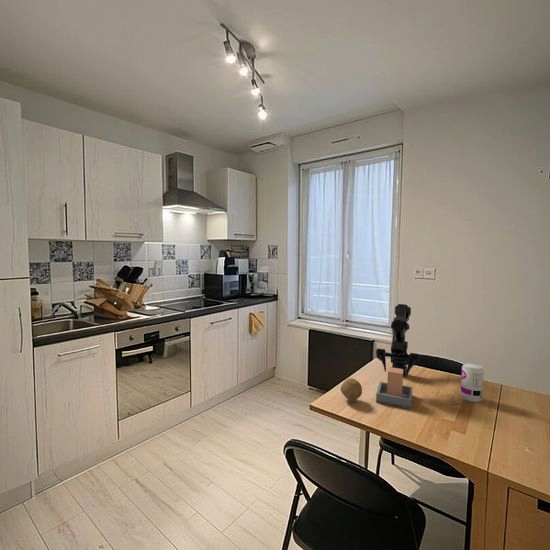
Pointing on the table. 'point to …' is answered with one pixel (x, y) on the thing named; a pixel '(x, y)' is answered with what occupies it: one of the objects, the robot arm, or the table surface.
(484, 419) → the table surface
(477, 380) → the supplement can
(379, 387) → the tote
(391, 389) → the carton
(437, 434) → the table surface
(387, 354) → the robot arm
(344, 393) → the natural sponge
